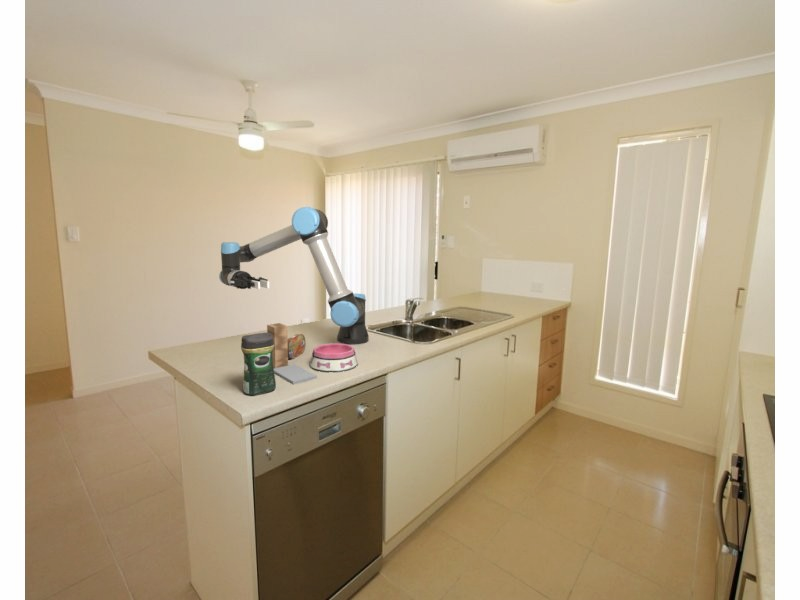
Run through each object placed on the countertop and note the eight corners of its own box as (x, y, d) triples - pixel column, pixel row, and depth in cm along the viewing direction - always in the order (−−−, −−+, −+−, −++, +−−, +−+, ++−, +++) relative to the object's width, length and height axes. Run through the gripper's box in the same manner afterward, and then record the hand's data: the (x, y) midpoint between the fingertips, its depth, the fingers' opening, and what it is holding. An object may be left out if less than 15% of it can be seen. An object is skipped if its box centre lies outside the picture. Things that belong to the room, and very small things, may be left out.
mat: (294, 366, 145) (294, 364, 145) (316, 378, 133) (316, 375, 133) (271, 371, 139) (271, 369, 138) (293, 384, 127) (293, 381, 127)
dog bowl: (309, 359, 155) (308, 342, 154) (354, 356, 160) (354, 340, 159) (309, 374, 138) (309, 356, 137) (361, 371, 142) (361, 353, 141)
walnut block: (280, 363, 148) (279, 323, 146) (288, 367, 144) (287, 325, 142) (268, 365, 145) (267, 324, 142) (275, 369, 141) (274, 327, 138)
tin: (289, 361, 151) (289, 341, 149) (282, 360, 151) (282, 340, 150) (306, 351, 165) (306, 332, 164) (299, 350, 166) (299, 331, 165)
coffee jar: (269, 383, 128) (268, 329, 125) (278, 391, 122) (277, 334, 119) (239, 389, 122) (237, 333, 119) (247, 398, 116) (245, 338, 113)
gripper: (258, 286, 170) (283, 293, 153) (220, 289, 159) (243, 296, 142) (257, 270, 169) (282, 274, 152) (220, 271, 158) (242, 276, 141)
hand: (263, 285), depth 147 cm, fingers open, 3 cm apart
